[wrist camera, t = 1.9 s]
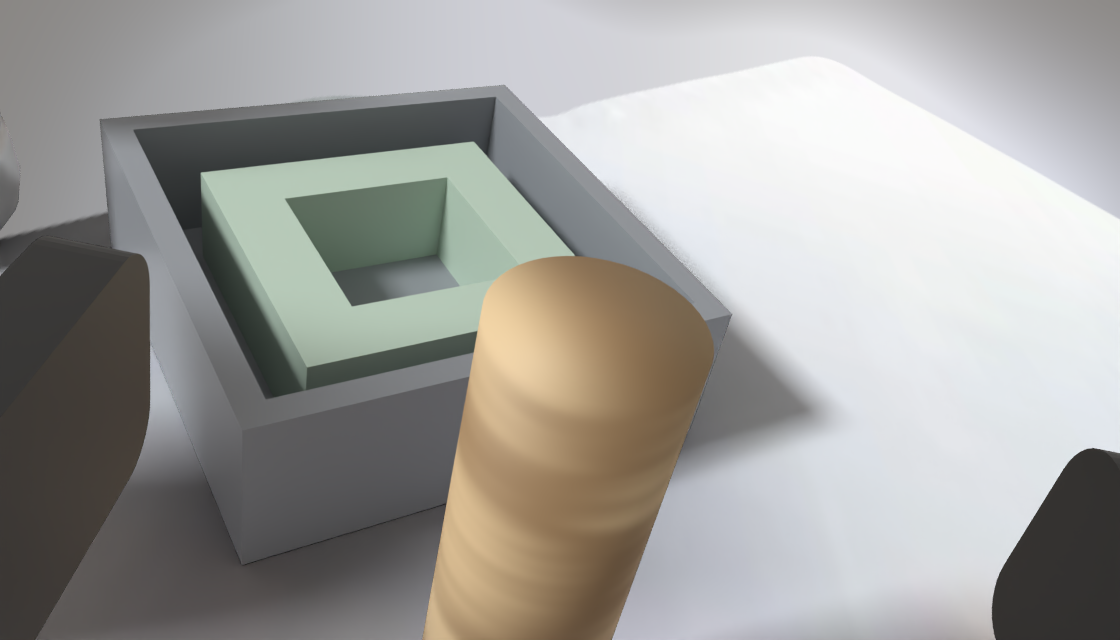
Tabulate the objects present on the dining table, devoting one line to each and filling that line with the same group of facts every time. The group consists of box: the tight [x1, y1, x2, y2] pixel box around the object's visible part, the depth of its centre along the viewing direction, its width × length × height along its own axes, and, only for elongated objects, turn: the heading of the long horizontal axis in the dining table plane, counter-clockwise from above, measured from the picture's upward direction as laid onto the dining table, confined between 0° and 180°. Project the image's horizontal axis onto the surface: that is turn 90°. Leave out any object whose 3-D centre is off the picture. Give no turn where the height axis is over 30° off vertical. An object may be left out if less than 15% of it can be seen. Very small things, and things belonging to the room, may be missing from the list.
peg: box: [422, 256, 714, 640], centre depth 25 cm, size 4×4×16 cm
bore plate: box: [201, 142, 575, 398], centre depth 42 cm, size 12×12×4 cm
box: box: [100, 85, 732, 565], centre depth 42 cm, size 18×18×6 cm
